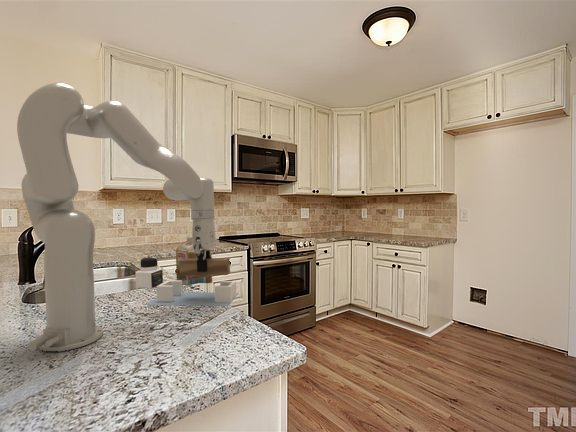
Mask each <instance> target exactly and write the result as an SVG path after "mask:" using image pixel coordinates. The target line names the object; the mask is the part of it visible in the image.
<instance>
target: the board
mask: <svg viewBox="0 0 576 432" xmlns="http://www.w3.org/2000/svg"><path fill="white" fill-rule="evenodd" d="M238 295H239V292H236V297H237V296H238ZM234 299H235V298H234ZM234 299H233V300H232V301H231V302H215V292H201V291H200V292H196V291H195V292H192V291H191V292H186V291H184V292H183V291H182V295H181V296H174V301H173V302H157V297H155V298H154V299H152V300H150V301H149V302H147V303H145V304H144V305H145V306H187V307H189V306H194V307H195V306H198V307H200V306H201V307H229V305H231V304H232V302H233V301H234Z"/></svg>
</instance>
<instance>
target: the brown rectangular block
mask: <svg viewBox="0 0 576 432" xmlns="http://www.w3.org/2000/svg"><path fill="white" fill-rule="evenodd" d="M206 259H207V271H206V272H198V271H197V259H182V260H180V261H179V266H180V276H192V275H212V276H228V275H230V273H231V264H230V263H231V262H230V261H231V260H230V259H231V258H230V257H217V258H215V257H212V258H206Z"/></svg>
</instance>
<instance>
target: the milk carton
mask: <svg viewBox="0 0 576 432" xmlns="http://www.w3.org/2000/svg"><path fill="white" fill-rule="evenodd" d="M186 239H187V240H186V241H184V242H183V243H182V244H180V245H179V246H178V247H177V248H176V249H175V263H176V264H175V267H176V271H175V272H176V275H175V276H176V280H182V284H183V285H186V286H192V285H196V284H212V283H213V275H192V276H180V266H179V261H180V260H182V259H196V254H195V253H194V252H195V250H194V249H193V245H192V237H189V236H187V238H186ZM200 250H202V249H200ZM212 250H213V249H211V258H213V257H212V255H213V254H212V253H213V252H212Z"/></svg>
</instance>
